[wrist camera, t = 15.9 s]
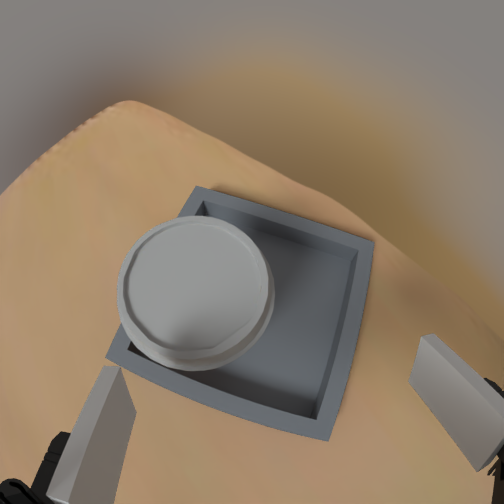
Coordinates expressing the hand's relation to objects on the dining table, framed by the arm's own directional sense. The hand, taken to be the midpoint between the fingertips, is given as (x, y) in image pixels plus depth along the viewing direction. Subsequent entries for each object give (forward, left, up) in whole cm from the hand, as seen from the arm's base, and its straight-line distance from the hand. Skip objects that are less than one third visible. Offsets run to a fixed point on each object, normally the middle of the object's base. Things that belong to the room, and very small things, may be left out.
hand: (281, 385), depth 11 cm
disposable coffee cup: (+6, -4, -15) cm, 16 cm away
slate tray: (+3, -8, -15) cm, 17 cm away
